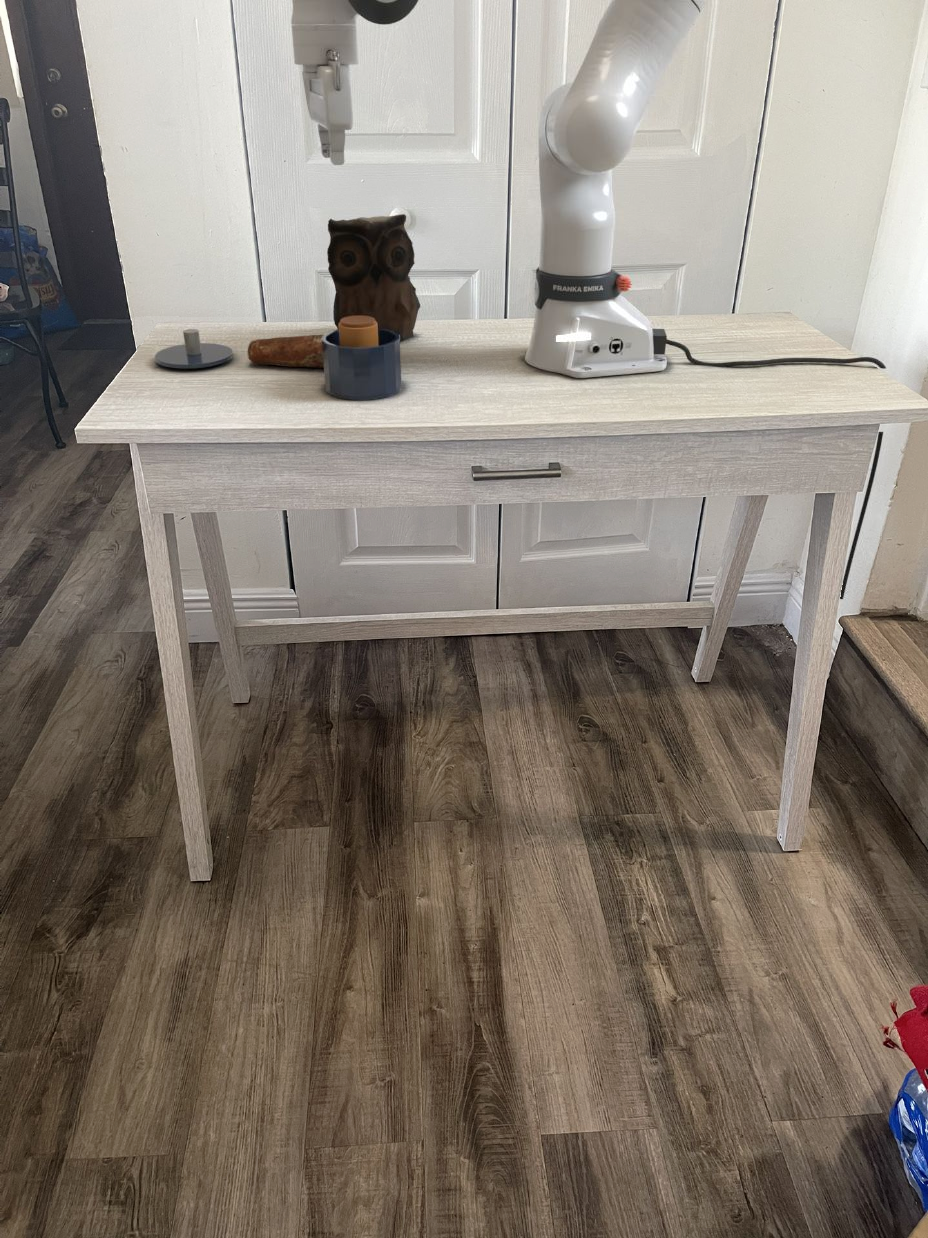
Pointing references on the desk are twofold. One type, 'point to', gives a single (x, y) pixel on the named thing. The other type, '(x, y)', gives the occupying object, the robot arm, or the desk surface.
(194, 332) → the pot lid
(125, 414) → the desk surface
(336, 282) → the owl
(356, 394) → the pot
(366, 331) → the tall brown tube
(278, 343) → the bread
